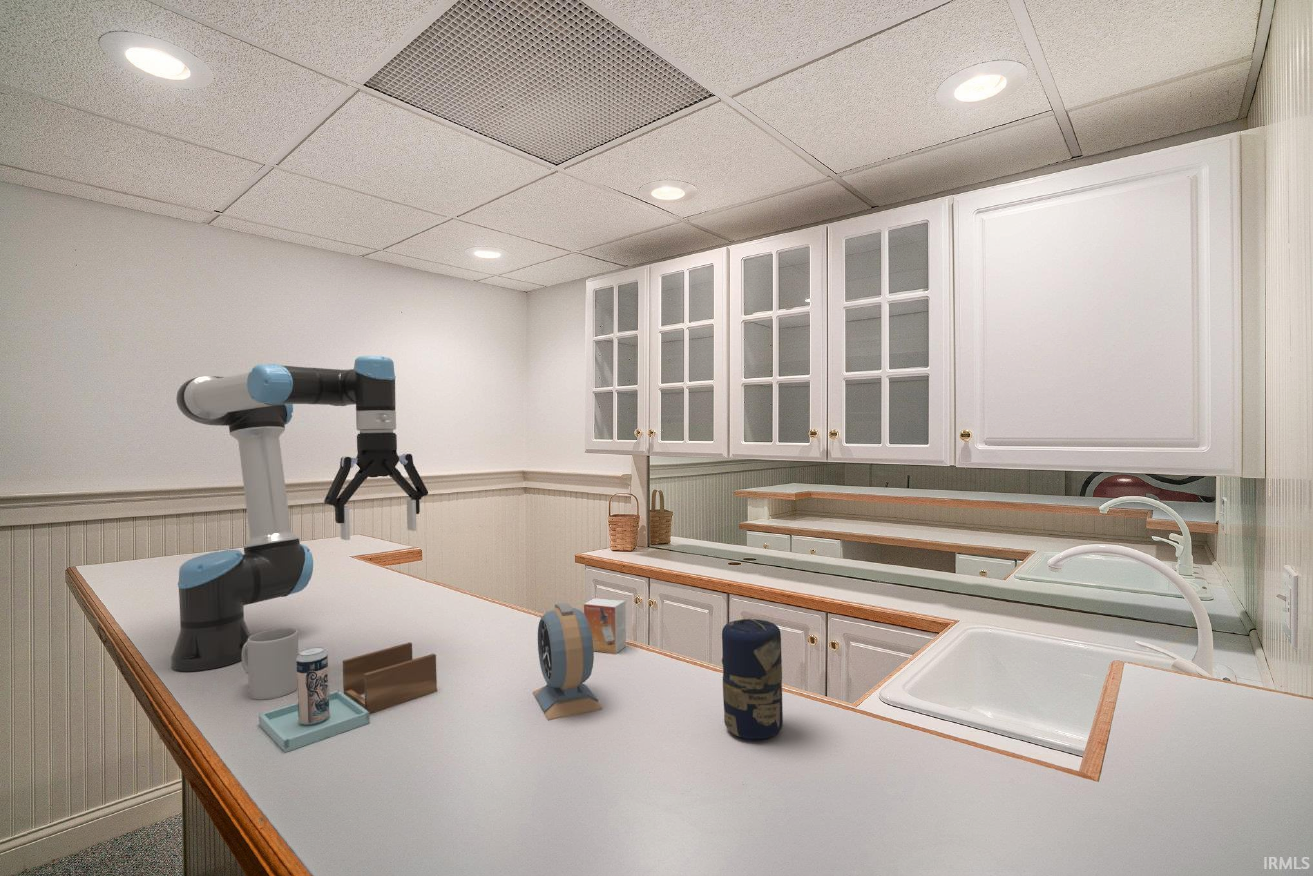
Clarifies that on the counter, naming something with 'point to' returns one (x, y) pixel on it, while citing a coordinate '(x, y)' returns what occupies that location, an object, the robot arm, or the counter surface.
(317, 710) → the beer can
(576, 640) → the alarm clock
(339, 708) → the tray
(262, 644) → the mug
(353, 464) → the robot arm
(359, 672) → the cradle
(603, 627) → the small box
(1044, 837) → the counter surface
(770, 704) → the canister
